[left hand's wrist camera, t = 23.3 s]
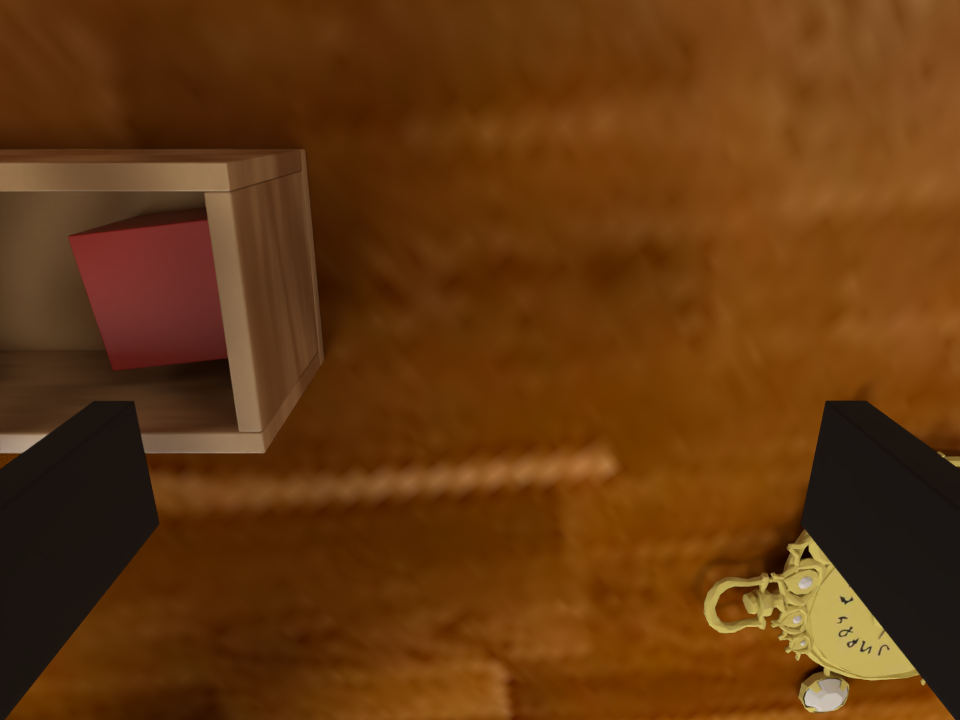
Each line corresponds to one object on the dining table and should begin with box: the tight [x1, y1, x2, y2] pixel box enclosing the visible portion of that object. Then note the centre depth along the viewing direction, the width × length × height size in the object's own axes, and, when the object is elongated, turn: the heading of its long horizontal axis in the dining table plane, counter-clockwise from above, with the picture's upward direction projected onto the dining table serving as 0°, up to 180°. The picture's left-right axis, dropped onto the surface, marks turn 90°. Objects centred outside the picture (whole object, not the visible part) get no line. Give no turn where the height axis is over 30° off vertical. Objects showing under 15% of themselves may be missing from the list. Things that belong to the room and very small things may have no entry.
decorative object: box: [704, 451, 960, 713], centre depth 35 cm, size 21×2×20 cm
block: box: [68, 207, 228, 371], centre depth 27 cm, size 5×5×5 cm
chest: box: [0, 149, 324, 453], centre depth 26 cm, size 17×10×10 cm, turn 90°
